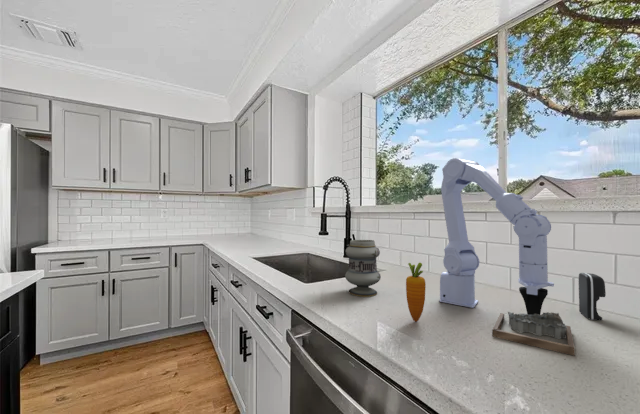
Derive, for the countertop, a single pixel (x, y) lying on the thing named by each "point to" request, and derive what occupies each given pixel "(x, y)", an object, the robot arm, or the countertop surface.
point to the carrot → (415, 292)
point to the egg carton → (538, 324)
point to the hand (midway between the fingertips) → (533, 317)
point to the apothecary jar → (362, 267)
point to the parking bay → (534, 339)
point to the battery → (590, 294)
